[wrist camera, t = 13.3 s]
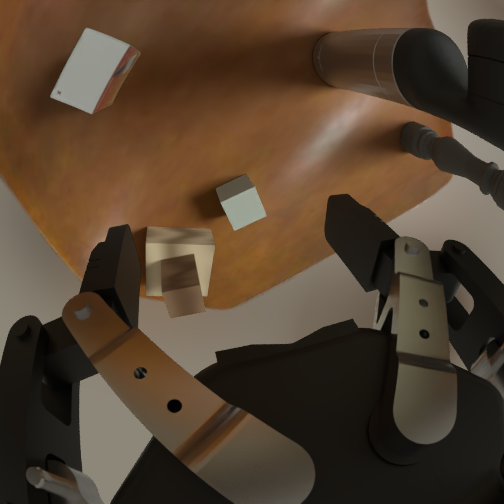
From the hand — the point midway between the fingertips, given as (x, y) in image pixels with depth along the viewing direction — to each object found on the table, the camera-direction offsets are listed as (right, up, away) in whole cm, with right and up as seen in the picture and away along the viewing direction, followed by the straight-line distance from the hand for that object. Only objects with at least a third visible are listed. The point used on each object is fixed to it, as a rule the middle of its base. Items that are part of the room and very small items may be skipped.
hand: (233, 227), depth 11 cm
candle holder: (+30, +20, +33) cm, 49 cm away
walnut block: (-10, -4, +32) cm, 33 cm away
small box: (-17, +22, +17) cm, 33 cm away
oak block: (-12, -1, +36) cm, 38 cm away
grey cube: (-2, +8, +32) cm, 33 cm away
